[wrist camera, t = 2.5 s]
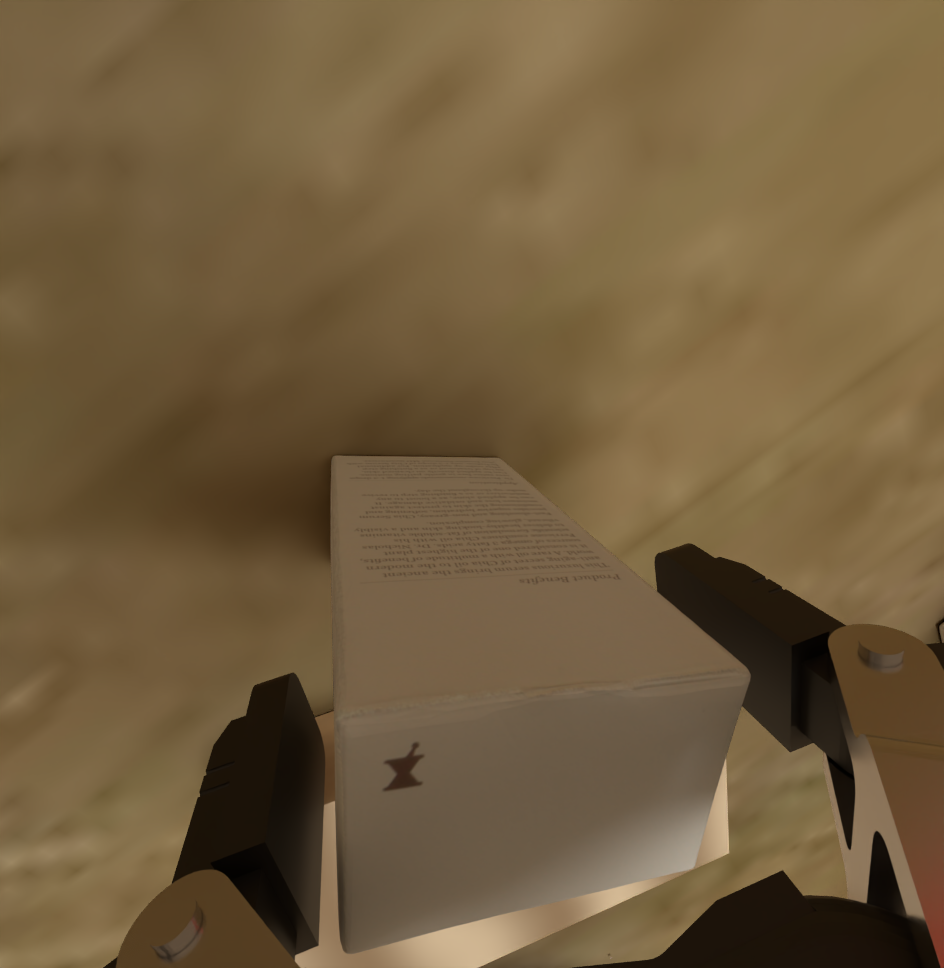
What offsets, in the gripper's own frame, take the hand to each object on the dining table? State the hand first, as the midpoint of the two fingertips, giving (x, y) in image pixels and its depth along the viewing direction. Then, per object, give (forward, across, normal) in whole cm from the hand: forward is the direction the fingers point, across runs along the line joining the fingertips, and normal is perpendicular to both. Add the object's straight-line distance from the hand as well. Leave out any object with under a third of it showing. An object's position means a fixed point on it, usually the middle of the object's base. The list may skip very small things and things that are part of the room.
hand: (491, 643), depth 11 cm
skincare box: (+8, 0, 0) cm, 8 cm away
